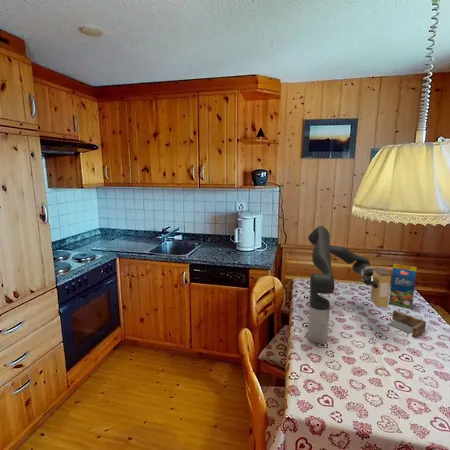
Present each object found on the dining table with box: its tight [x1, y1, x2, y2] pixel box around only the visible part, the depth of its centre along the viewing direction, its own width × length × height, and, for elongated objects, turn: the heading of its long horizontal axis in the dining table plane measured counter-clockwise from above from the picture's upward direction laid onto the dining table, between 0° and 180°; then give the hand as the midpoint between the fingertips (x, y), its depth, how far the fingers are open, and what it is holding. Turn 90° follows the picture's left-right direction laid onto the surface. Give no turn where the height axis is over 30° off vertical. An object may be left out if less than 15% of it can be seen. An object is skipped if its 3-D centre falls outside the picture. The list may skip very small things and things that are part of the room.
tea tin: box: [370, 267, 392, 308], centre depth 150 cm, size 9×5×17 cm, turn 173°
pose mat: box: [387, 319, 413, 334], centre depth 159 cm, size 11×7×1 cm, turn 36°
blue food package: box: [388, 263, 418, 309], centre depth 182 cm, size 6×12×25 cm, turn 56°
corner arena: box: [392, 309, 427, 339], centre depth 157 cm, size 16×12×5 cm
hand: (382, 286), depth 148 cm, fingers closed on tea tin, 5 cm apart
